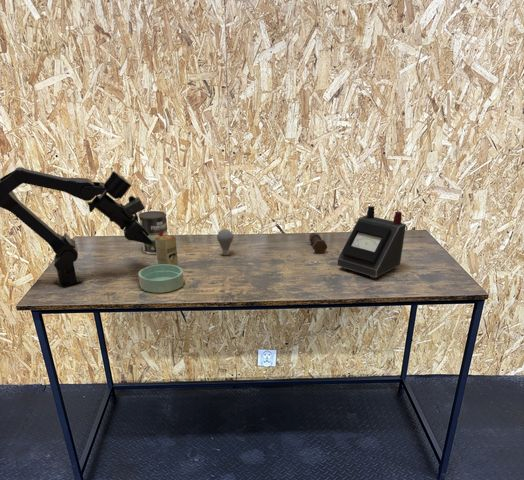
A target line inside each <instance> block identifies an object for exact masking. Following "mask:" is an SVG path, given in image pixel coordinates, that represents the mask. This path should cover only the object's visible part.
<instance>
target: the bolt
mask: <svg viewBox="0 0 524 480" xmlns="http://www.w3.org/2000/svg"><path fill="white" fill-rule="evenodd" d="M308 240H309V242H310V244H311V245H312V246H311V247H312V249H313V251H314V252H315V254H316V255H317V254H318V255H319V254H320V255H321V254H324V253H325V252H326V250H327V249H328V245H327V243H326V241H325V240H324V239H322V238H321V235H320V234H319V233H315V232H314V233H313V232H312V233H310V234H309V239H308Z"/></svg>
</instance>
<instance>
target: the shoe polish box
mask: <svg viewBox="0 0 524 480" xmlns="http://www.w3.org/2000/svg"><path fill="white" fill-rule="evenodd" d="M155 243H156V252H157V254H156V260H157V265H159V264H170V265H176V266H178V267H179V259H178V249H177V239H176V236H172V235H169V234H168V235H163V236H160V237H157V238H155Z"/></svg>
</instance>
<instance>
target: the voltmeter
mask: <svg viewBox="0 0 524 480" xmlns="http://www.w3.org/2000/svg"><path fill="white" fill-rule="evenodd" d="M402 215H403V212H402V211H395V212H394V216H393V220H390V219H385V218H381V217H376V216H375V206H373V205H369V206H367V211H366V215H363V216H360V217H358V219H357V221H356V223H355V224H354V226H353V227H352V230H351V233H350V234H349V235H348V238H347V240H346V242H345V244H344V246H343V247H342V249H341V252H340V253H339V255H338V257H337V262H336V266H337V267H340V268H341V269H342V271H348V270H351V271H353V272H356V273H360V274H364V275H367V276H369V277H370V279H372V280H376V279H377V278H378V277H379V276H381V275H383V274H385V273H387V272H389V271H392V270H393V271H394V270H395V269H396V267H399V266H400V265H401V261H402V254H403V247H404V240H405V234H406V228H407V223H404V222H402V219H403V218H402Z"/></svg>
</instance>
